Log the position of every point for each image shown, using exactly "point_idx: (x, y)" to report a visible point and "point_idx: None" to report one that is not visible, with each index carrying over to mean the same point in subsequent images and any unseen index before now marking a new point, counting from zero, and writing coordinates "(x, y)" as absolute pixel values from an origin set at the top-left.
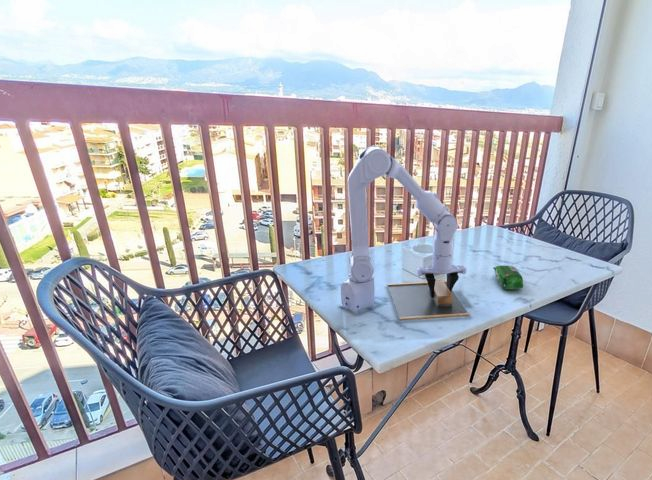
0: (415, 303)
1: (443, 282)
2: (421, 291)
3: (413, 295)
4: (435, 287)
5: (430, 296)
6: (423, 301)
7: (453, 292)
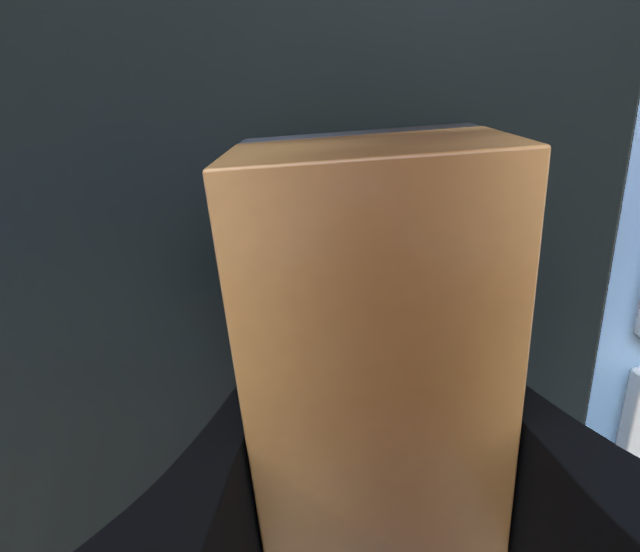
0: (62, 492)
1: (516, 298)
2: (127, 163)
3: (15, 294)
4: (299, 496)
5: None
6: (154, 452)
7: (615, 226)
